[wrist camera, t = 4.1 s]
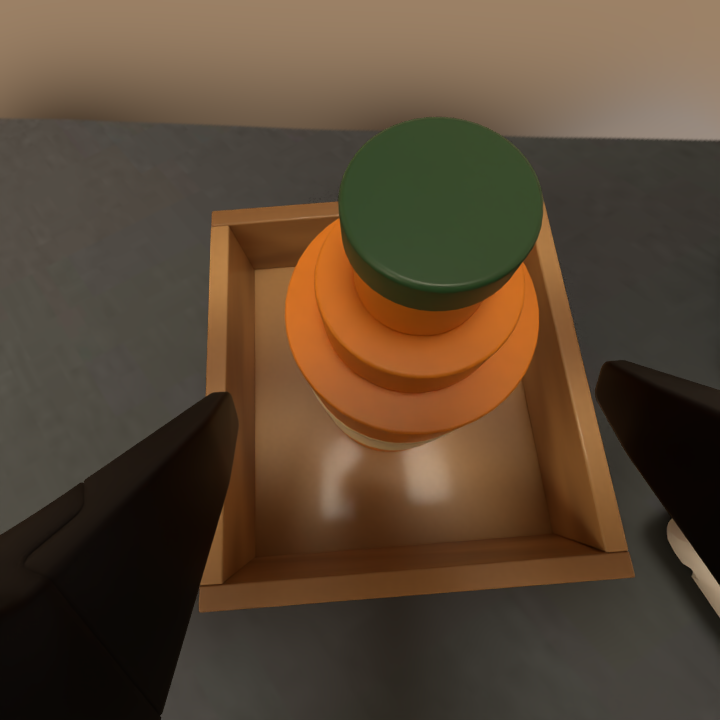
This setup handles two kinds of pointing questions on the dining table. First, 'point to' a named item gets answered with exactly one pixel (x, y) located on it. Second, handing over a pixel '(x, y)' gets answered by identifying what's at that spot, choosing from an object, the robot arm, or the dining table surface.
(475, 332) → the juice bottle
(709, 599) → the unicorn horn
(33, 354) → the dining table surface
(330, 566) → the tray
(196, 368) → the dining table surface
